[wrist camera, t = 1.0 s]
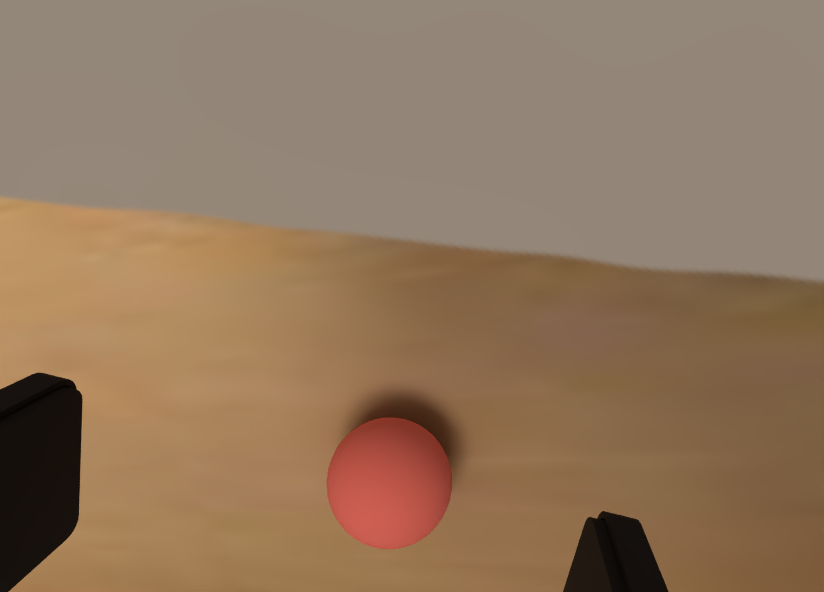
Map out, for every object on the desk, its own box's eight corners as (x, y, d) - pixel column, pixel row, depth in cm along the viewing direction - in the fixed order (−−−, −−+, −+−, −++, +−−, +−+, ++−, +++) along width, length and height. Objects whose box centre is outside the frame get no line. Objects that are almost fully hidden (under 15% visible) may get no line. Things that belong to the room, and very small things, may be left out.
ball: (466, 412, 29) (460, 477, 23) (443, 511, 30) (431, 594, 24) (354, 385, 29) (320, 441, 23) (337, 483, 31) (301, 558, 25)
